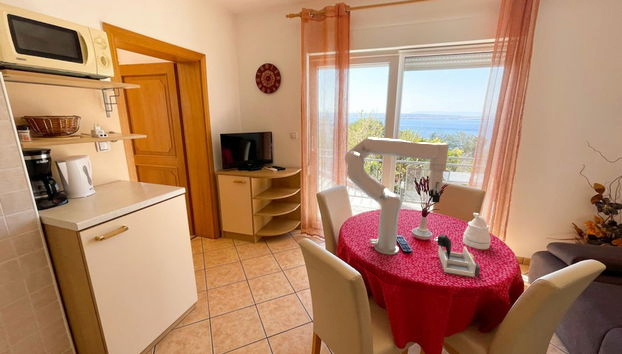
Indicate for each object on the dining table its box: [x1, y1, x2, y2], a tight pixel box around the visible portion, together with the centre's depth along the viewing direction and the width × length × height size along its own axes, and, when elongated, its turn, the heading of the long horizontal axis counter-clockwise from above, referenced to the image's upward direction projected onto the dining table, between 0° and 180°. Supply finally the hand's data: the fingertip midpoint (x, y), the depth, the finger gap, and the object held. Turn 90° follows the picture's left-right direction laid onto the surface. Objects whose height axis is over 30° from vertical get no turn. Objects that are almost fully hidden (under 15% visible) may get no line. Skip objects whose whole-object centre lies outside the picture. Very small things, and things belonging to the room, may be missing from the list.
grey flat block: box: [474, 261, 481, 277], centre depth 114 cm, size 1×5×4 cm, turn 162°
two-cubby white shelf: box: [437, 245, 476, 278], centre depth 120 cm, size 12×18×6 cm, turn 162°
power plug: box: [433, 234, 452, 259], centre depth 126 cm, size 6×8×12 cm
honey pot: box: [462, 212, 492, 250], centre depth 139 cm, size 13×13×18 cm
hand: (434, 199), depth 130 cm, fingers open, 9 cm apart
